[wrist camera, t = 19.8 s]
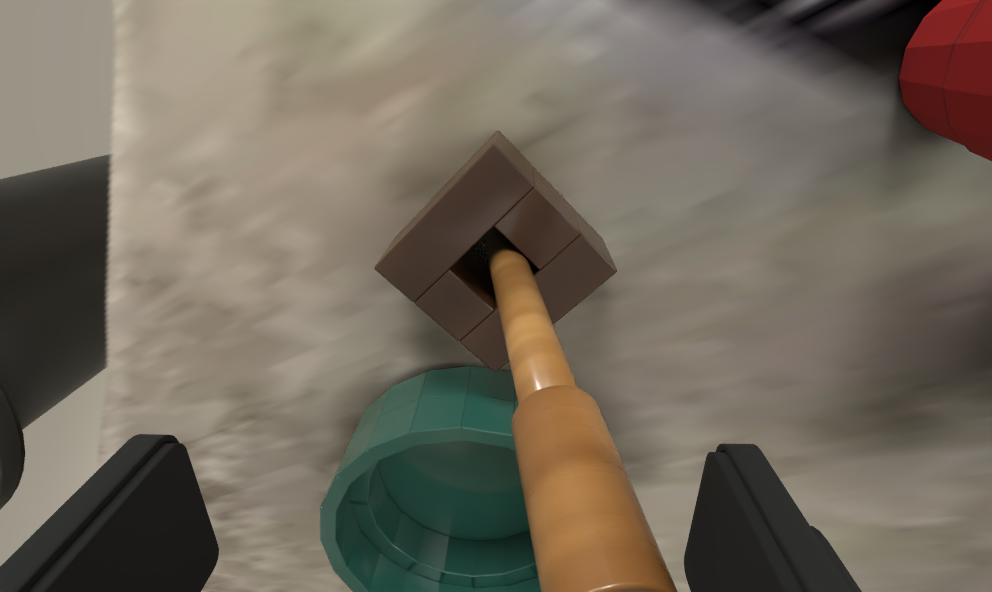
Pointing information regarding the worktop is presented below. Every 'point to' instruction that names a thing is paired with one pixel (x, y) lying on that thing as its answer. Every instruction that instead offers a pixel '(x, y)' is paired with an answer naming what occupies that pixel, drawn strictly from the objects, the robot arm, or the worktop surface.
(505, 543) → the bowl
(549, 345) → the stick
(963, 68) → the plastic cup
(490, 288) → the holder
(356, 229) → the worktop surface
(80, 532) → the robot arm
